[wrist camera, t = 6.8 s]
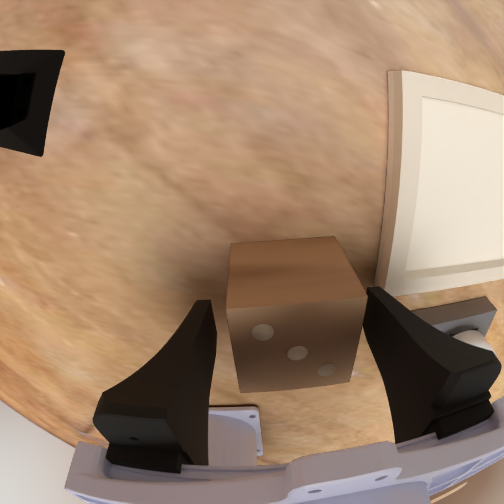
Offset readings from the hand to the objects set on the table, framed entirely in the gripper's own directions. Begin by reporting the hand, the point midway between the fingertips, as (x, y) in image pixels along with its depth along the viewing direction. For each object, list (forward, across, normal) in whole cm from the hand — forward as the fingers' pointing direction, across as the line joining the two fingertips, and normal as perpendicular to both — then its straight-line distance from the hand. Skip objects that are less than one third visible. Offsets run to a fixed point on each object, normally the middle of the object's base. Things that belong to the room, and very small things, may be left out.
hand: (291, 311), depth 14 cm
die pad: (+2, -10, -5) cm, 12 cm away
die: (+2, 0, 0) cm, 3 cm away
